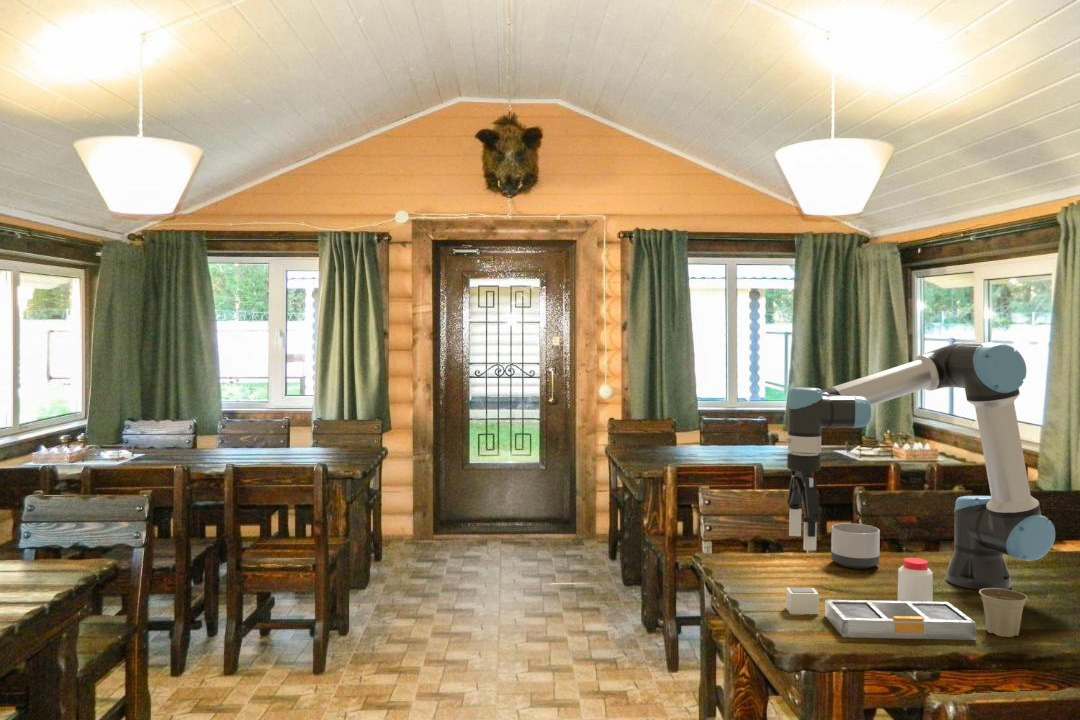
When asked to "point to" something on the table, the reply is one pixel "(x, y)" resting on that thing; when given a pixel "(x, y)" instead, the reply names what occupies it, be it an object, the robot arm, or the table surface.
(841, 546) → the planter
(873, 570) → the table surface
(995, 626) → the flower pot
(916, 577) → the pill bottle
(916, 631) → the tray
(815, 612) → the white block
